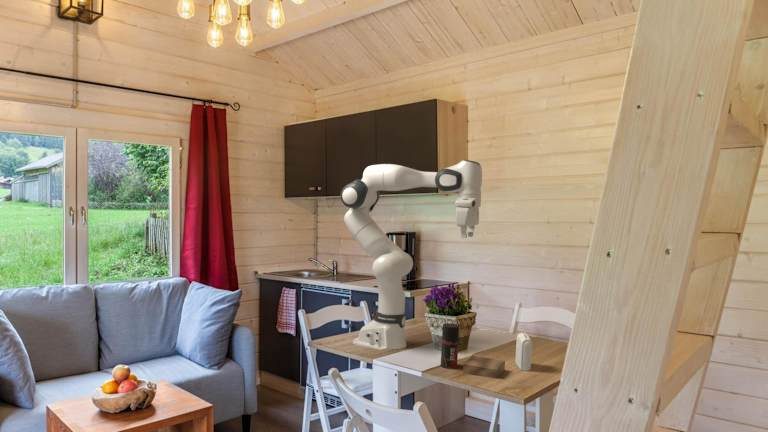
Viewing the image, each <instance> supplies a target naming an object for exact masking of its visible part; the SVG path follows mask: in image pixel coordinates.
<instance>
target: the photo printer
mask: <svg viewBox="0 0 768 432" xmlns="http://www.w3.org/2000/svg"><path fill="white" fill-rule="evenodd" d="M515 344H516V347H515V360H514V361H515V365H516V366H517V367H518V369H519V370H521V371H524V372H529V371H531V370H532V369H531V368H532V354H533V353H532V352H533V341H532V338H531V337H530V336H529V334H528V333H526V332H520V333H518V334H517V336H516V343H515Z"/></svg>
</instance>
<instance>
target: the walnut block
mask: <svg viewBox="0 0 768 432" xmlns="http://www.w3.org/2000/svg"><path fill="white" fill-rule="evenodd" d="M505 369H506V360H501V359H498V358H497V359H496V358H492V357H491V358H490V357H484V356H477V355H472V356H470V357H469V358H468V359H467V360H466V361H465V362H464V363H463V364H462V374H463V375H471V376H480V377H482V378H483V377H484V378H490V379H491V378H492V379H498V378H499V377H500V376H501V375H502V374H503V372H505Z"/></svg>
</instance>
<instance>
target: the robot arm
mask: <svg viewBox="0 0 768 432" xmlns="http://www.w3.org/2000/svg"><path fill="white" fill-rule="evenodd" d="M482 184H483V169H482V165H481V164H480V163H479V162H477V161H474V160H469V159H462V160H461V161H459V162H458V163H456V164H454V165H451V166H448V167H444V168H442V169H440V170H438V171H421V170H417V169H415V168H410V167H409V166H408V167H407V166H405V165H404V166H403V165H400V164H393V163H380V164H372V165H369V166H367V167H366V168H364V171H363V173H362V178H361V179H359V178H358V179H355V180H353V181H352V182H349V183H348V184H346V185H345V186H344V187H343V188H342V189H341V191H340V195H339V196H340V197H339V198H340V200H341V203H342V204H343V205H344V206H345V207H347V208H349V210H347V211H346V212H345V214H344V216H343V217H344V218H343V221H344V223H345V225H346V228H347V229H348V231H349V232H350V234H351V235H352V238H354V240H356V242H357V243H358V244H359V246H360V247H361V248H362V250H364V253H366V254H367V255H369V256H371V257H373V258H374V259H375V260H374V262H373V263H372V267H371V269H372V274H373V276H374V277H375V278H376V285H377V291H378V299H377V301H378V303H377V310H376V311H374V312H373V313H372V315H371V316H372V317H373V319H372V320H370V321H369V322H367V323H366V324H365V325H363V326H362V327H361V328H360V330H359V334H358V337H355V338H354V339H353V341H352V344H353V345H355V346H360V347H364V348H370V349H375V350H379V351H380V350H381V351H385V350H400V349H401V350H402V349H405V348H407V342H406V341H407V340H406V336H405V334H406V333H405V326H406V312H405V306H406V293H405V291H404V289H403V281H402V278H404V277H405V276H407V275H408V274H409V273H410V272H411V271H412V269H413V266H414V261H413V258H412V256H411V255H410V254H409V253H407V252H405V251H404V250H403V249H402V248H400V246H398V245H397V244H396V243H395V242H394V241H392V240H391V239H390V238H389V237H388V236H387V235H386V233H385V232H384V231H383V230H382V229H381V227H380V226H379V225H378V224H377V222H375V220H374V219H373V218H372V216H371V215H370V212H372V211H373V210H374V207H375V206H376V204H378V202H379V199H380V191H384V192H386V191H387V192H395V191H396V192H399V191H404V190H409V189H415V188H422V187H423V188H437V189H438V190H439V191H442V192H444V193H454V194H458V195H457V199H456V200H455V204H454V205H455V207H456V210H455V211H456V212H455V214H456V215H455V220H456V221H455V222H456V226H457V227H460V233H461V237H460V238H461V239H467V237H469V238H470V237H471V238H472V237H474V231H475V229H476V227H475V226H478V225H479V224H480V223H479V222H480V208H481V204H482V203H481V202H482V192H481V189H482V188H481V187H482V186H483V185H482ZM467 229H468V232H467Z"/></svg>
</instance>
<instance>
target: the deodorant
mask: <svg viewBox="0 0 768 432" xmlns="http://www.w3.org/2000/svg"><path fill="white" fill-rule="evenodd" d="M441 331H442V333H441V334H442V335H441V349H440V351H441V352H440V367H441V368H444V369H448V370H452V369H453V370H454V369H456V368H458V358H459V357H458V355H459V338H460V337H459V336H460V325H459V324H457V323H451V322H450V323H448V322H447V323H446V322H445V323H443V324H442V330H441Z"/></svg>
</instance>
